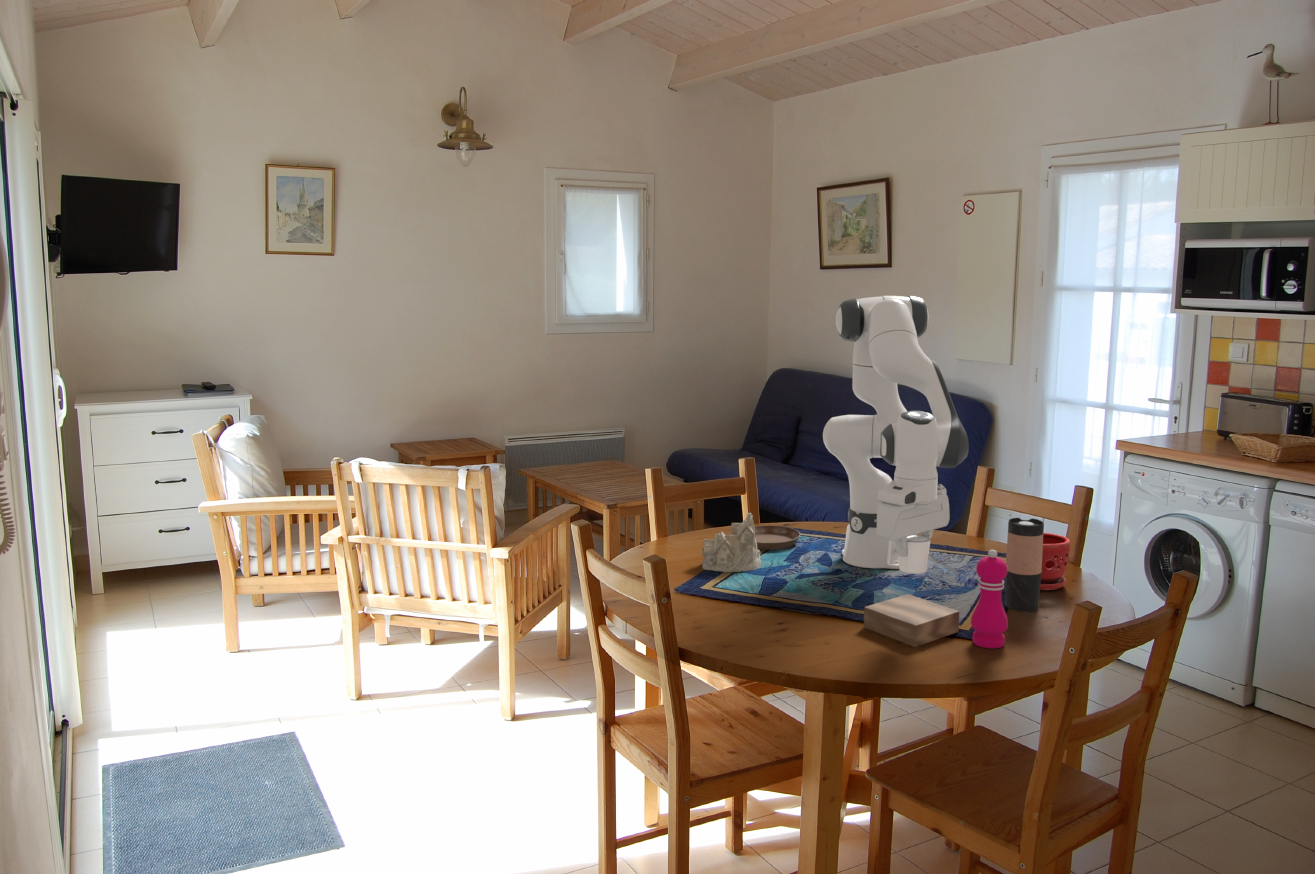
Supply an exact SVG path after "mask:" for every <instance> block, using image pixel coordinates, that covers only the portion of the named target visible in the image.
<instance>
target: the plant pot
mask: <svg viewBox="0 0 1315 874" xmlns="http://www.w3.org/2000/svg"><path fill="white" fill-rule="evenodd" d="M1070 553H1071V541H1070V538H1068V537H1066V536H1065V535H1060V534H1057V533H1050V532H1049V533H1048V532H1043V550H1042V572H1041V583H1040V591H1056V590H1058V589H1060V588H1062V587H1064V586H1065V584H1067V583H1066V582H1067V579H1066V577H1064V574H1065V573H1066V570H1067V567H1068V565H1069V558H1070V557H1069V556H1070Z"/></svg>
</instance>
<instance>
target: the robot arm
mask: <svg viewBox="0 0 1315 874" xmlns="http://www.w3.org/2000/svg"><path fill="white" fill-rule="evenodd" d="M929 316H930V315H929V309H928V307H927V303H926V301H924V299H923V298H922V297H919V296H915V295H908V296H903V295H881V296H872V297H870V296H869V297H863V298H862V297H861V298H856V297H855V298H850V299H845V300H843V301H842V302H841V304H839V306H838V309H837V312H836V315H835V327H836V329H837V330H836V331H837V332H838V335H839V337H840V338H842V340H843V341H847V342H851V343H853V345H854V346H853V351H852V386H851V387H852V391H853V394H854V395H855V396H856V398H858V399H859V400H860V401H862V402H864V403H866V404H867V405H870V406H872V408H874V410H875V411H876V414H874V415H873V414H872V415H871V414H865V415H864V414H846V415H844V414H843V415H838V416H833V417H831V418H830V419H829V420H828V421H827V422H826V424H825V425H824V427H823V431H822V439H823V444H824V445H825V448H826V449H827V451H828V452H829V453H830V454H832V455H833V456H835V457H836V459H837V460H838V461H839V462H840V463H841V465H842V466H843V467H844V470H845V471H846V474H847V477H848V482H849V483H848V484H849V496H850V497H849V504H850V506H849V507H848V512H847V521H848V525H846V526H847V527H846V532H845V540H844V548H843V549H842V550H841V555H842V560H843V562H845V563H846V564H848V565H850V566H853V567H854V566H855V567H858V568H865V569H866V568H867V569H890V570H898V569H899V558H898V555H899V556H901V557H906V556H907V555H908V549H907V547H906V544H905V542H906V541H907V537H908V536H911V535H915V534H916V535H920V534H921V535H923V536H926V537H929V538H930V539H931V540H932V537H933V534H934V530H936V529H940V528H944V527H947V526H948V524H949V522H950V503H949V497H948V495H947V488H946V487H945V486H944V485H943V484H942V483H939V482H938V477H939V476H938V475H939V474H938V470H937V468H945V469H955V468H956V467H958V466H959V465H960V464H962V462H964V461H965V459H966V458H967V457H968V454H969V448H970V447H969V445H970V444H969V443H970V442H969V438H968V434H967V431H966V430H965V428H964V426H963V424H962V422H961V420H960V418H959V416H958V414H957V411H956V408H955V406H954V402H953V400H952V397H951V395H950V392H949V390H948V386H947V384H946V381H945V378H944V377H943V374H942V372H941V371H942V370H941V369H940V367H939V365H938V363H937V362H936V361H934V360H933V359H930V358H929V357H928V356H927V355H926V354H925V352H924V351H923V349H922V347H921V346H920V344H919V339H918V338H921V337H922V336H923V335H924V334H925V333H926V331H927V328H928V324H929V319H930V317H929ZM898 384H899V385H902V386H906V387H908V388H912V389H913V390H916V391H917V392H920V393H921V394H922V395H924V396H925V397H926V399H927V402H928V404H929V407H930V410H931V413H929V412H925V411H922V410H907V409H906V407H905V405H904V404H903V403H902V400H901V399H900V395H899V391H898V390H899V389H898ZM872 458H879V459H880V458H881V459H883V460H884V461H885V462H886V463H888V465H891V466H895V470H894V475H893V476H894V477H893V479H892V477H891V476H890V475H889V474H888V473H885V472H884V471H882V470H881V469H878V468H876V467H875V466H874V465H873V464H872V463H871V459H872ZM938 483H939V484H938ZM899 570H900V569H899Z"/></svg>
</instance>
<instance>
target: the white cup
mask: <svg viewBox="0 0 1315 874" xmlns="http://www.w3.org/2000/svg"><path fill="white" fill-rule="evenodd" d="M931 540H932V538H931V539H930V538H929V537H926V536H923V535H922V534H915V535H911V536H908V537H907V541H906V542H905V544H906V547H907V549H908V555H907V556H906V557H901V556H899V555H898V558H899V570H900V571H901V572H903V573H907V574H914V575H915V574H918V575H919V574H924V573H926V572H927V570H928V561H929V555H930V548H931Z"/></svg>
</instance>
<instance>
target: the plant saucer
mask: <svg viewBox="0 0 1315 874" xmlns="http://www.w3.org/2000/svg"><path fill="white" fill-rule="evenodd" d="M754 526H755V539H756V542H757V549H758V550H765V551H766V550H767V551H769V550H771V551H773V550H774V551H775V550H776V551H777V550H784V549H788V548H791V547H792V546H793V545H794V544H796V543H797V541H798V540H799V538H800V537H801V532H800V531H799V530H797V529H795V528H792V527H788V526H781V525H769V524H768V525H754Z"/></svg>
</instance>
